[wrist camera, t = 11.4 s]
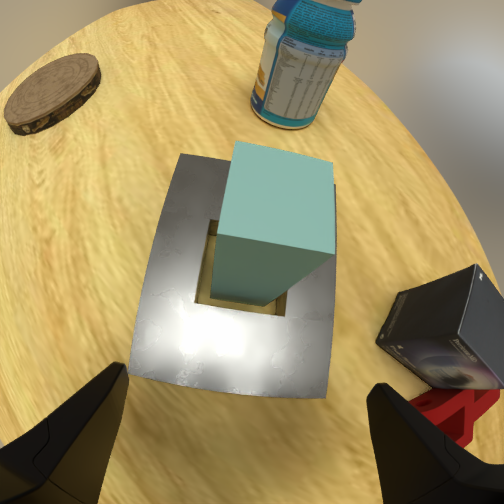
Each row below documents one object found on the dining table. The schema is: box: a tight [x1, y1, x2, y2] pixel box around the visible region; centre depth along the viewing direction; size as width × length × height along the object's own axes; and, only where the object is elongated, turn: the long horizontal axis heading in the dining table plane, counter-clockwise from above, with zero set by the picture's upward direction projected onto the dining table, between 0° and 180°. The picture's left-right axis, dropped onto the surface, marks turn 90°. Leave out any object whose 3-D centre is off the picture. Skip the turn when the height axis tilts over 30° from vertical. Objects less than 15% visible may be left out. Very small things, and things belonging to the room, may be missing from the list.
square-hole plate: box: [128, 153, 337, 398], centre depth 21 cm, size 18×14×3 cm
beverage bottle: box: [251, 0, 362, 129], centre depth 21 cm, size 8×8×20 cm
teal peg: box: [210, 141, 335, 306], centre depth 17 cm, size 4×4×13 cm
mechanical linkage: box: [408, 388, 500, 448], centre depth 19 cm, size 16×7×5 cm, turn 98°
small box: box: [376, 263, 504, 390], centre depth 18 cm, size 11×6×10 cm, turn 53°
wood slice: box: [4, 53, 101, 136], centre depth 26 cm, size 16×16×3 cm
